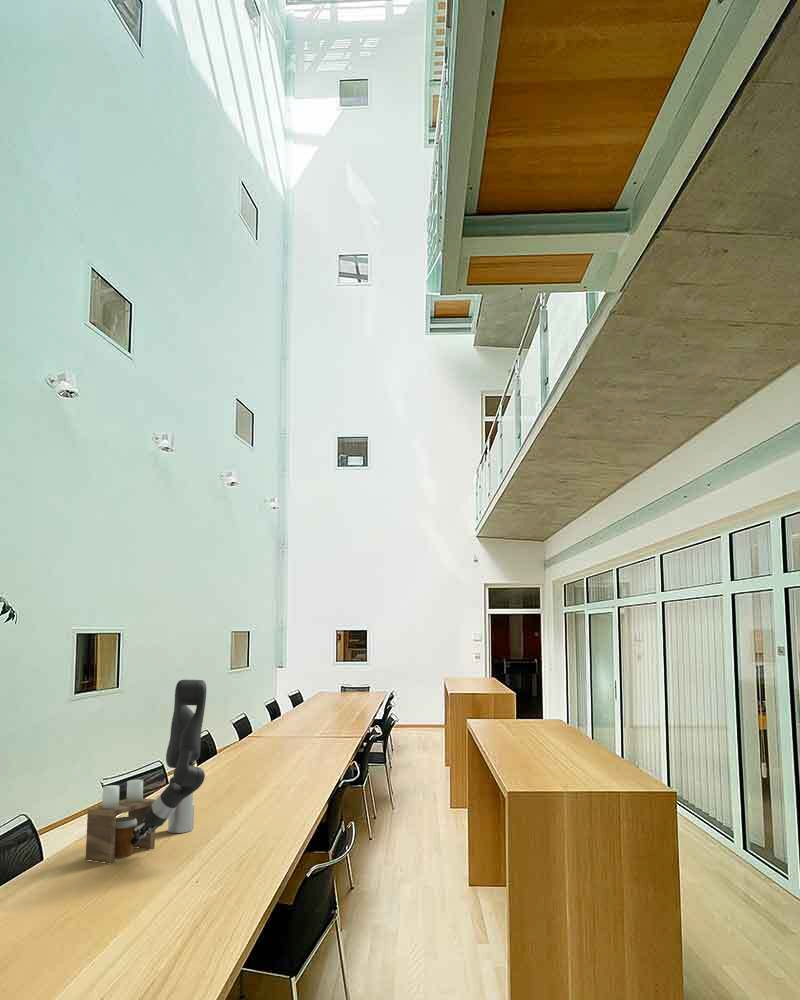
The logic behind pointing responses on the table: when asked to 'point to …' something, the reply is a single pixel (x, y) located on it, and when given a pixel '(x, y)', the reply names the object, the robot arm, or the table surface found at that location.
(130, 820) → the disposable coffee cup
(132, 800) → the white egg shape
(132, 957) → the table surface
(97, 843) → the wooden bench stand
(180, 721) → the robot arm
